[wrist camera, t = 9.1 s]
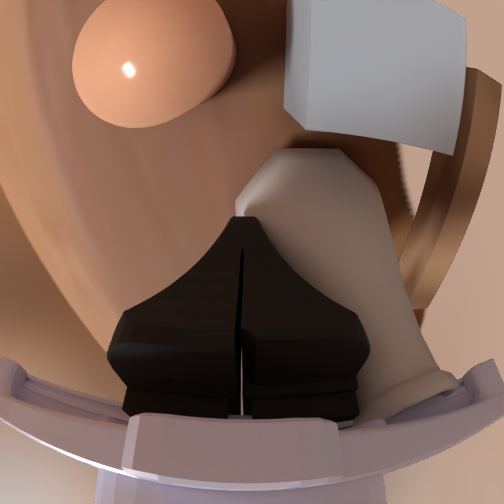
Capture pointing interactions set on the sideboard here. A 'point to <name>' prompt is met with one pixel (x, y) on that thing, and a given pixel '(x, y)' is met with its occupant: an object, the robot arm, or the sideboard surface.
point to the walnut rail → (451, 192)
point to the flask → (348, 267)
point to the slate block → (377, 69)
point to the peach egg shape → (152, 59)
